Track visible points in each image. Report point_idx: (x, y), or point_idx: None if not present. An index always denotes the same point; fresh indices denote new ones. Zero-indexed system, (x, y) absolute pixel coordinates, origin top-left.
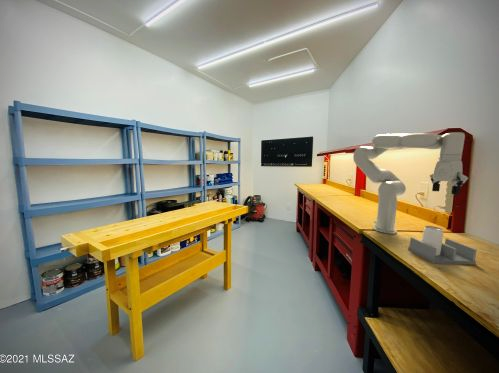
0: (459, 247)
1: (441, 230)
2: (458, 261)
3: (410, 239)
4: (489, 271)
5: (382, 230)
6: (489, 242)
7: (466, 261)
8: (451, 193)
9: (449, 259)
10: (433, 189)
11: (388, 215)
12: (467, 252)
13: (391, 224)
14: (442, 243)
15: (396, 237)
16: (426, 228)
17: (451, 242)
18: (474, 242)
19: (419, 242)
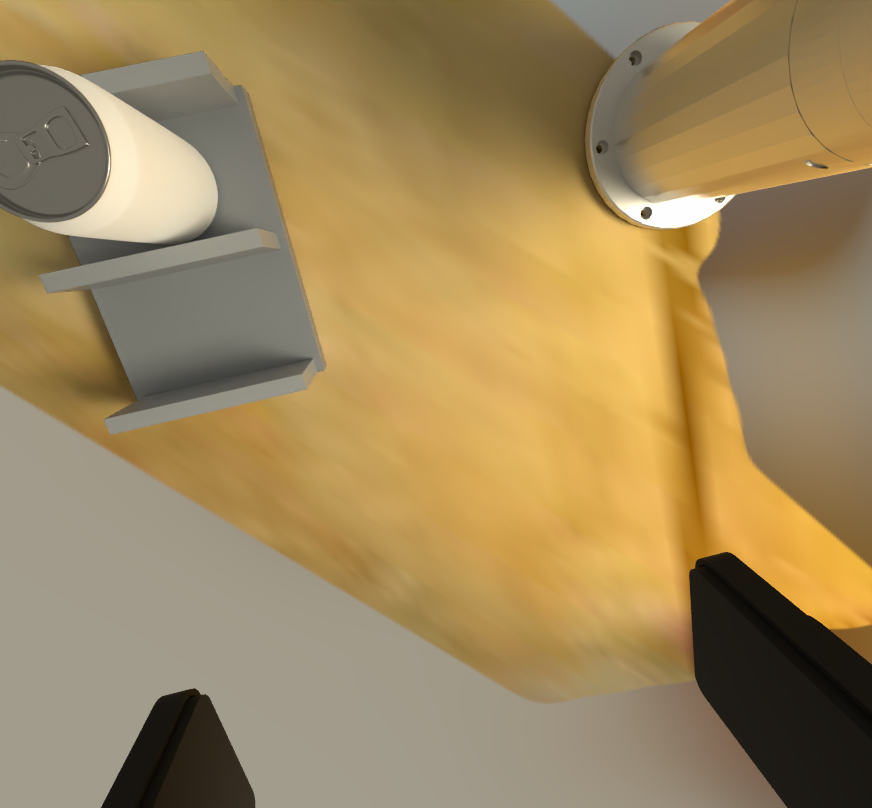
0: (207, 391)
1: None
2: (99, 305)
3: (207, 58)
4: (78, 414)
5: (623, 75)
6: (552, 697)
7: (120, 355)
8: (201, 695)
9: (92, 257)
10: (726, 588)
11: (715, 50)
12: (160, 399)
13: (648, 134)
14: (144, 262)
15: (508, 152)
16: (23, 66)
17: (258, 381)
18: (533, 627)
19: (107, 73)
